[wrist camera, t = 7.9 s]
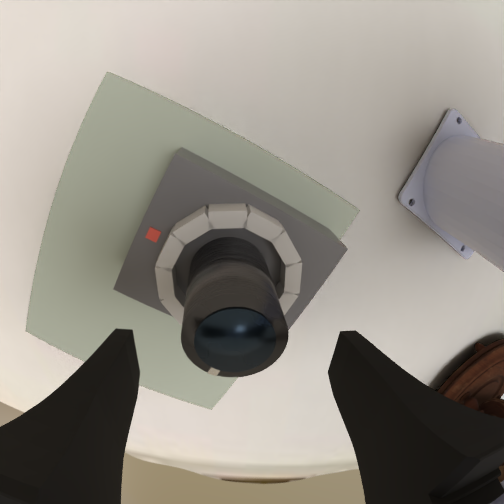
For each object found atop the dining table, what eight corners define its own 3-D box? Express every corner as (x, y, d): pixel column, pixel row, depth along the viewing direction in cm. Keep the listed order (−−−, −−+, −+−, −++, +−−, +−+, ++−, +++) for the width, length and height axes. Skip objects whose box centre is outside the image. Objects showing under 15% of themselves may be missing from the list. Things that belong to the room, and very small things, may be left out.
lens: (281, 258, 17) (310, 322, 11) (242, 316, 18) (254, 391, 13) (211, 223, 15) (210, 278, 10) (176, 287, 17) (164, 359, 11)
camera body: (329, 229, 19) (356, 258, 16) (262, 325, 22) (271, 367, 18) (181, 147, 17) (171, 156, 13) (125, 264, 19) (107, 301, 15)
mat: (356, 208, 20) (359, 210, 19) (211, 405, 26) (211, 409, 25) (109, 72, 15) (107, 71, 14) (28, 327, 21) (25, 331, 20)
